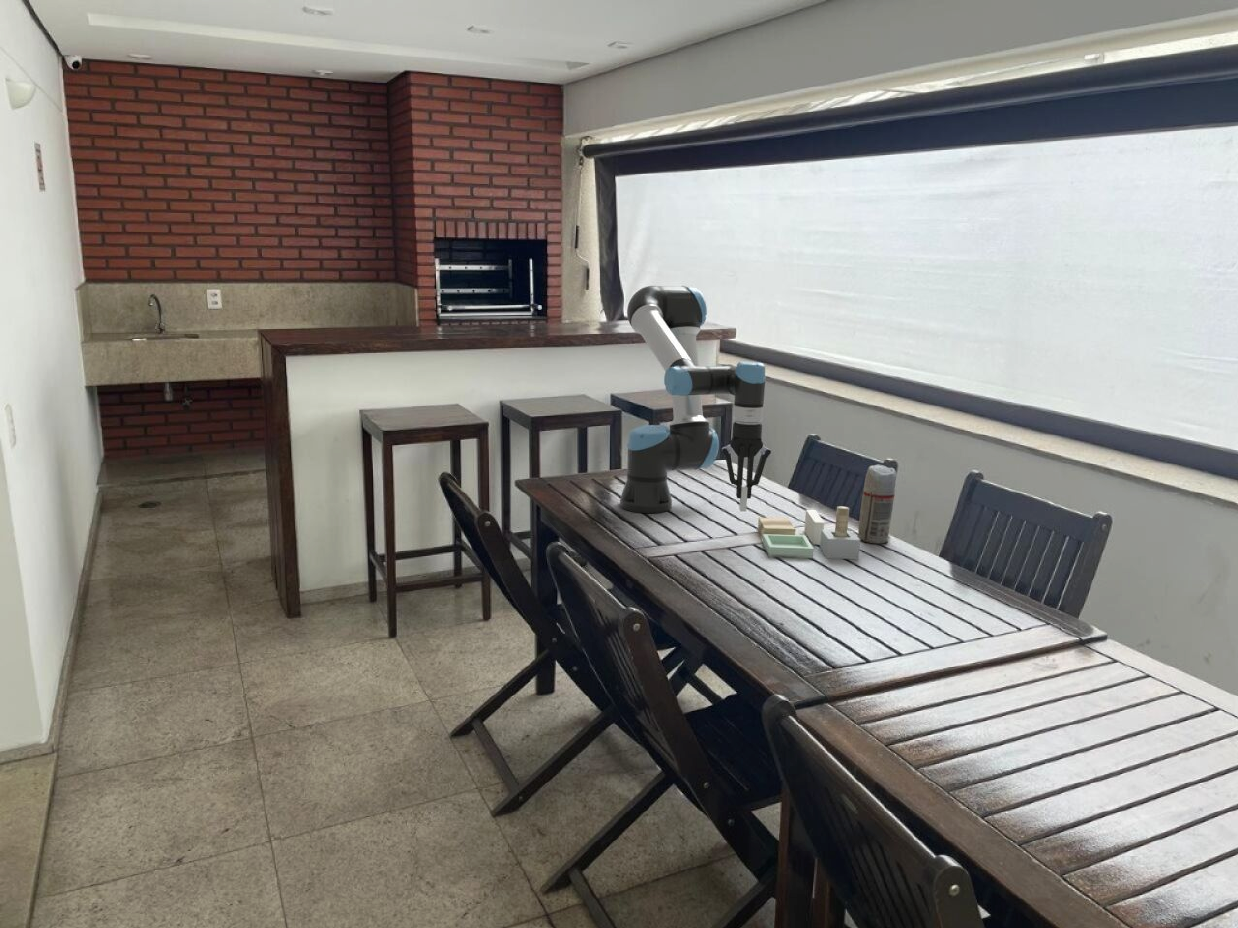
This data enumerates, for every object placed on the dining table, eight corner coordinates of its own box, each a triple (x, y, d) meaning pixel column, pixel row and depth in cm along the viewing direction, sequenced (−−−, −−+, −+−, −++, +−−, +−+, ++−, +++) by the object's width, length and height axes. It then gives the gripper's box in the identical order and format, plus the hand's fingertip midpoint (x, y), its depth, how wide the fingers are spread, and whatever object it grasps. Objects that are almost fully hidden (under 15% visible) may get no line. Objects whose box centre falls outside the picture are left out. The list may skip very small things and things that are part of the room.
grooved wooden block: (757, 531, 263) (758, 517, 262) (786, 532, 263) (788, 518, 262) (763, 542, 253) (764, 528, 252) (794, 543, 253) (795, 529, 252)
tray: (762, 543, 251) (763, 533, 251) (804, 544, 251) (805, 535, 251) (768, 556, 241) (769, 547, 240) (812, 558, 241) (813, 548, 240)
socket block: (820, 548, 249) (821, 529, 248) (851, 549, 249) (852, 530, 248) (826, 558, 241) (828, 538, 240) (858, 559, 241) (860, 540, 240)
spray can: (886, 536, 262) (894, 464, 257) (891, 545, 254) (899, 471, 249) (854, 534, 262) (861, 462, 258) (859, 543, 254) (866, 469, 250)
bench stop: (804, 530, 264) (806, 509, 262) (813, 531, 264) (815, 509, 262) (812, 544, 252) (814, 522, 251) (822, 544, 252) (824, 522, 251)
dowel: (831, 551, 247) (835, 506, 244) (843, 551, 247) (847, 506, 244) (834, 555, 244) (838, 509, 241) (846, 555, 244) (850, 509, 241)
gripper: (724, 423, 247) (719, 513, 252) (775, 425, 247) (769, 514, 252) (721, 418, 254) (716, 505, 259) (770, 420, 254) (765, 507, 259)
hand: (742, 510), depth 256 cm, fingers closed
